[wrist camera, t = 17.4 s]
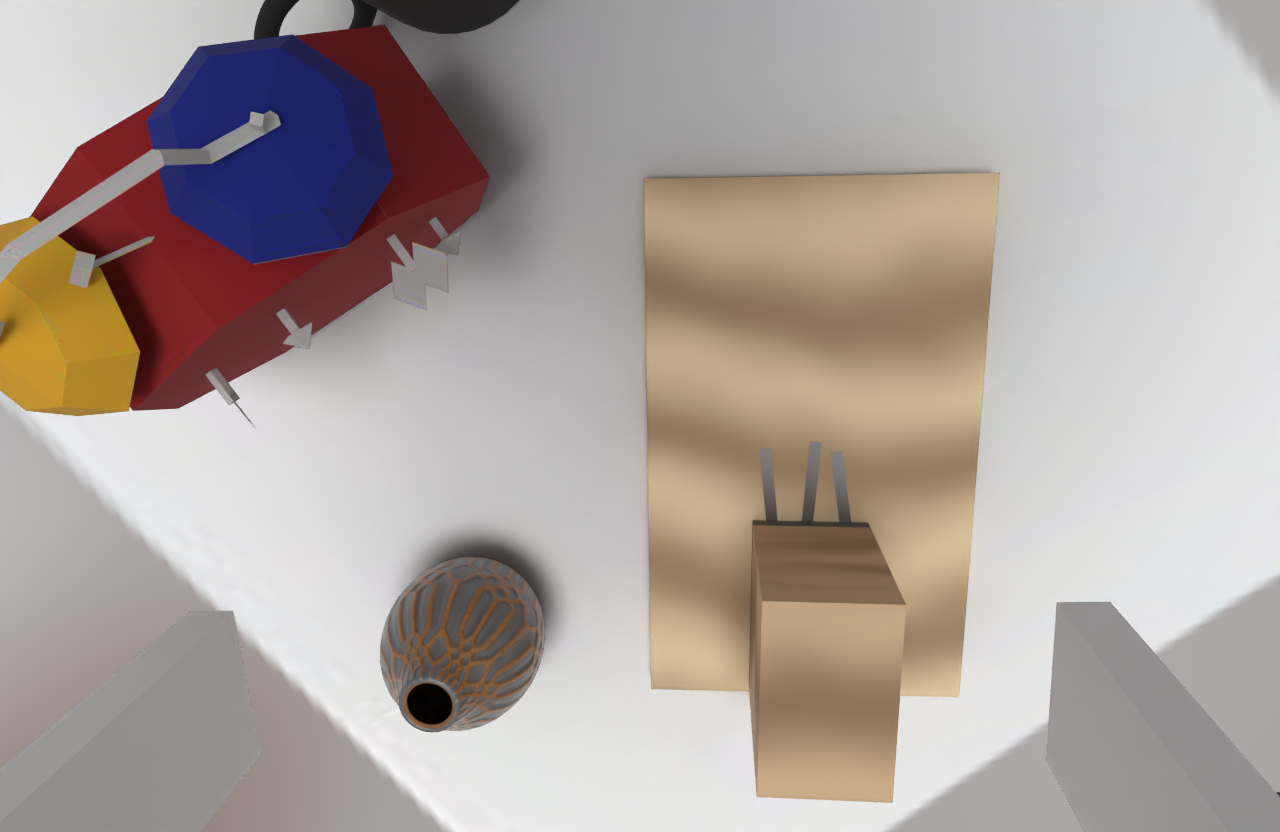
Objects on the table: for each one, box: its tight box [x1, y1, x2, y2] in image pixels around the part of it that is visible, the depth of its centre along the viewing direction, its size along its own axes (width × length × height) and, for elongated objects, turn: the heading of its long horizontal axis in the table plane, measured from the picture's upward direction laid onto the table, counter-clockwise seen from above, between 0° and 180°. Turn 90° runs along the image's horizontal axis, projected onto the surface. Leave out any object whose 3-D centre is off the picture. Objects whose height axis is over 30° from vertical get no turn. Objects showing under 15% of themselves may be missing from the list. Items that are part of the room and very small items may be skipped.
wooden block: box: [749, 520, 906, 803], centre depth 37 cm, size 8×5×8 cm, turn 0°
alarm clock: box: [0, 25, 490, 427], centre depth 30 cm, size 15×9×20 cm, turn 124°
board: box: [644, 173, 1000, 697], centre depth 39 cm, size 23×14×1 cm, turn 1°
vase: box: [380, 557, 545, 732], centre depth 39 cm, size 7×7×9 cm
